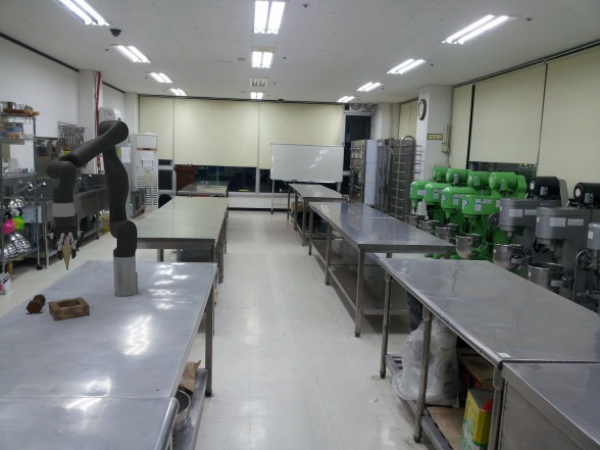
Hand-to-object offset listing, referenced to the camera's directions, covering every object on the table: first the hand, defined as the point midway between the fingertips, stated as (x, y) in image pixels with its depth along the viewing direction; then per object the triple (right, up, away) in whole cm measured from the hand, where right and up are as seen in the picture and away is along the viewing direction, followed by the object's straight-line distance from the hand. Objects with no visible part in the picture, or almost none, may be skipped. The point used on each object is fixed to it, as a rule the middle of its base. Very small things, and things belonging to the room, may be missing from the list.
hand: (66, 258), depth 181 cm
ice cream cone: (0, -5, +1) cm, 5 cm away
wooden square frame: (-1, -21, +3) cm, 22 cm away
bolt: (-16, -21, +9) cm, 28 cm away
